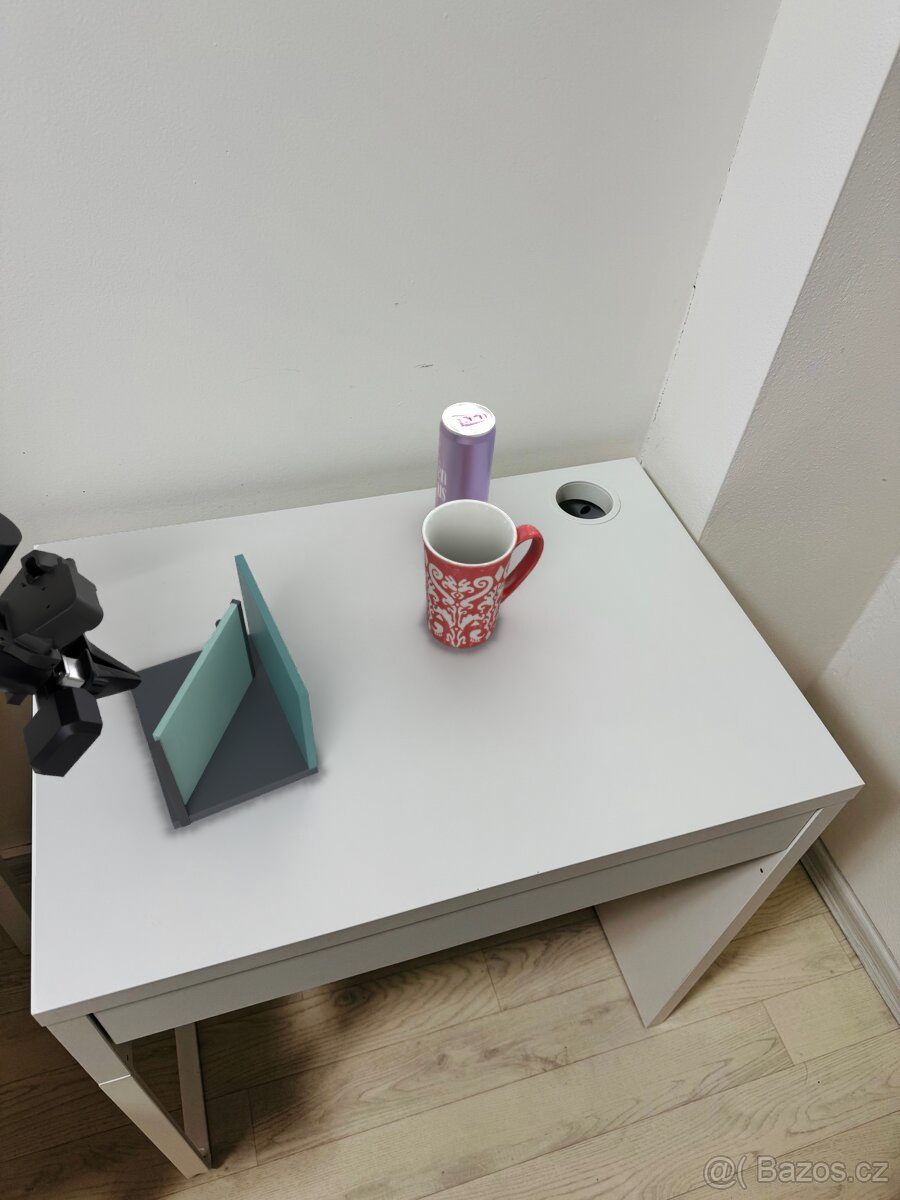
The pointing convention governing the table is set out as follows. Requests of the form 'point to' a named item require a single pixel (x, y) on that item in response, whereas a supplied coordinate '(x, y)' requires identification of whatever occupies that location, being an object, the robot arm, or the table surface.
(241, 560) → the shower stall
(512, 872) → the table surface
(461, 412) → the beverage can
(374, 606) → the table surface
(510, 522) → the mug
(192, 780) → the shower door
